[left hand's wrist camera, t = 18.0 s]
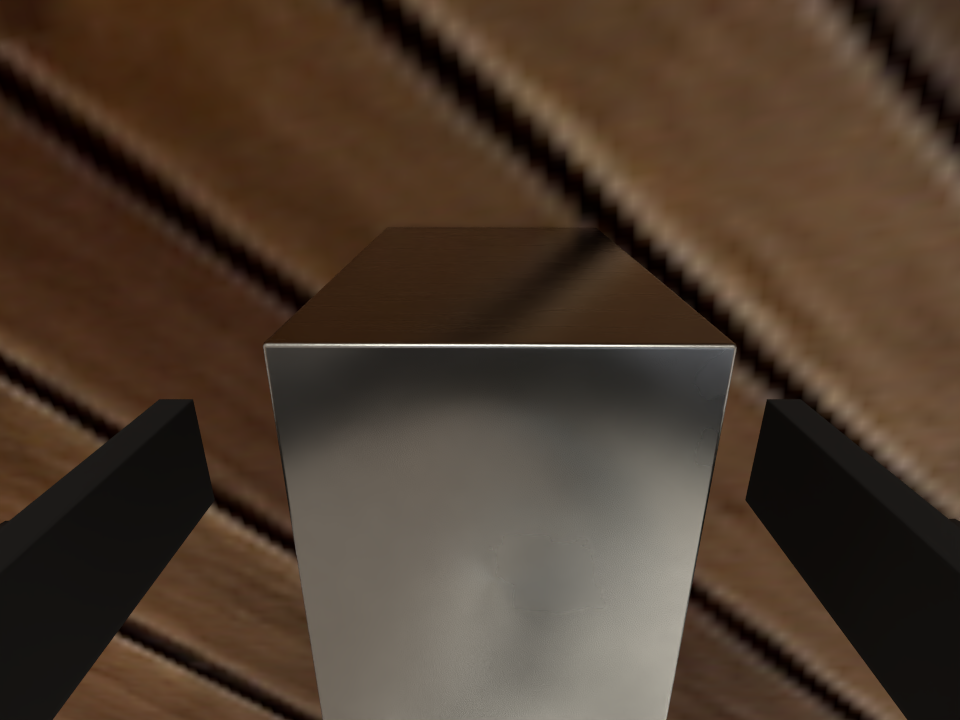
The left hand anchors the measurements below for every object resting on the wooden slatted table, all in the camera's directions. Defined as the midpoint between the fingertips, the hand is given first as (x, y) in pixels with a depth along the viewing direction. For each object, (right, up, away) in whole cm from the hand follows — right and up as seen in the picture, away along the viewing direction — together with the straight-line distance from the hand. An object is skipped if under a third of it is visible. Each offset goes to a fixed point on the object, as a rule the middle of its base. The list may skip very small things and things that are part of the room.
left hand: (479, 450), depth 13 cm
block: (0, +2, +6) cm, 6 cm away
